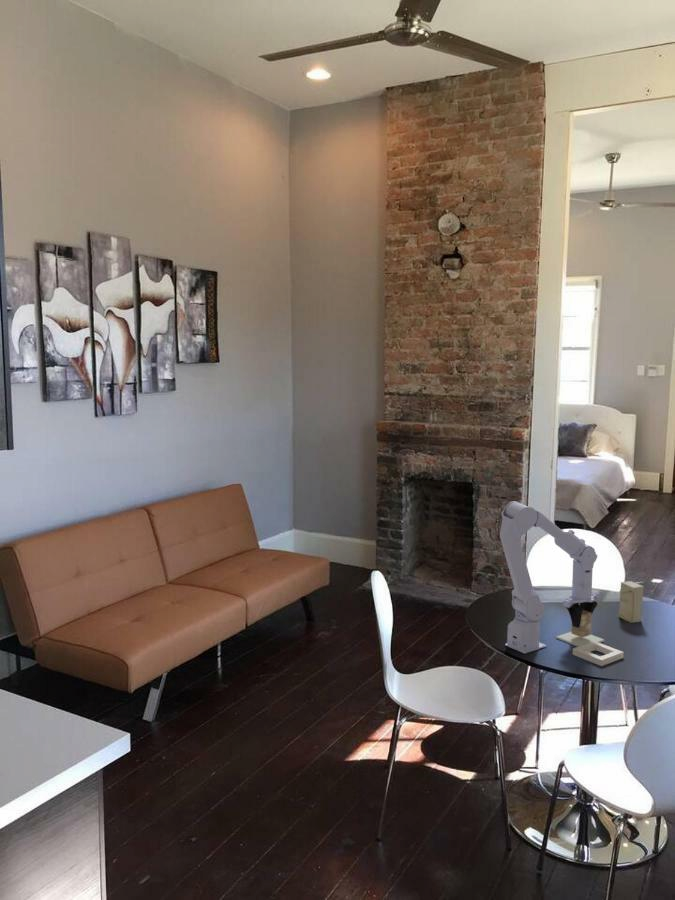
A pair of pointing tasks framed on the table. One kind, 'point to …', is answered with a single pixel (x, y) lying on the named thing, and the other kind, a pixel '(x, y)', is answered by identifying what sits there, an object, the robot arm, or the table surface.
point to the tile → (578, 639)
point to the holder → (599, 660)
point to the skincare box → (631, 601)
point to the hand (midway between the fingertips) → (580, 625)
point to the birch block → (583, 625)
